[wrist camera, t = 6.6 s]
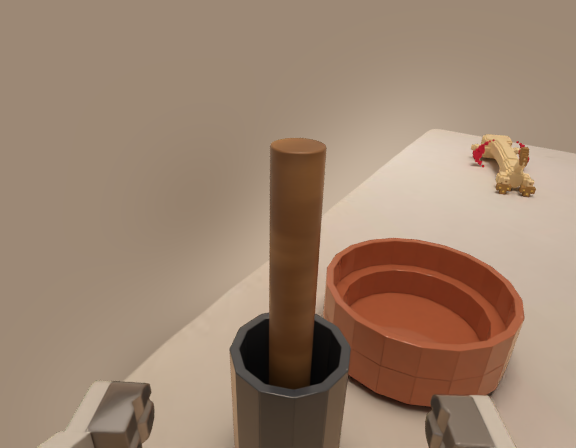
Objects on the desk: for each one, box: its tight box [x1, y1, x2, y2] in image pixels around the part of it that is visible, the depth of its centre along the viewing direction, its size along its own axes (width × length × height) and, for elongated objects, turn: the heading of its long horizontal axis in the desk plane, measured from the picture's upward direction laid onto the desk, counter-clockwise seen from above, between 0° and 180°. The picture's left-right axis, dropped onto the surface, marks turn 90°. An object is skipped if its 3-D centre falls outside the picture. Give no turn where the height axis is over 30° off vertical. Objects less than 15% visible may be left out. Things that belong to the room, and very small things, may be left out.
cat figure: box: [471, 134, 536, 197], centre depth 76 cm, size 10×9×25 cm
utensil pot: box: [230, 313, 351, 448], centre depth 23 cm, size 6×6×10 cm
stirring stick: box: [269, 138, 326, 390], centre depth 20 cm, size 2×2×20 cm
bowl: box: [323, 238, 524, 407], centre depth 34 cm, size 15×15×6 cm
